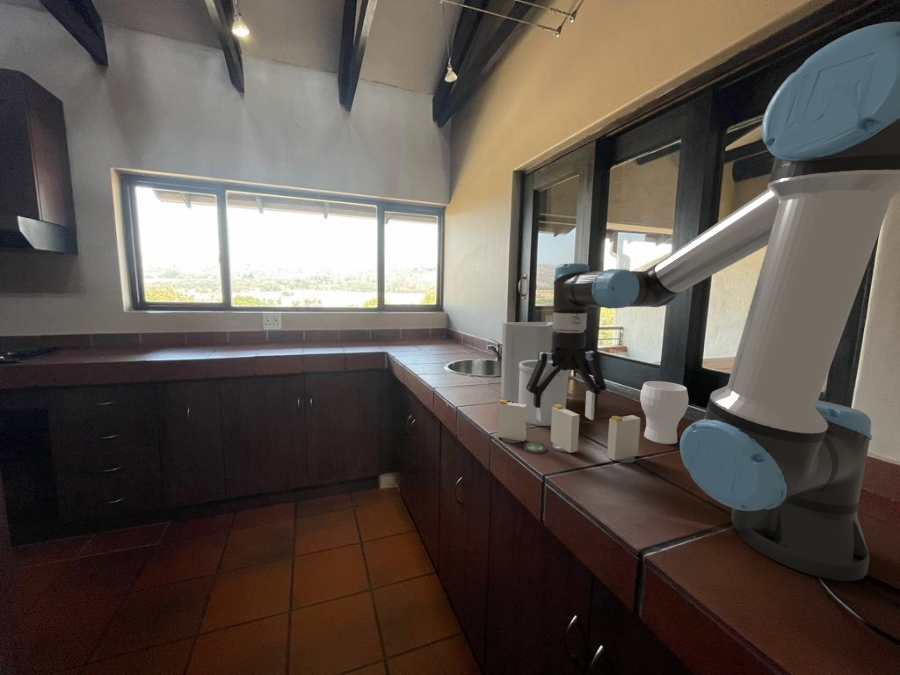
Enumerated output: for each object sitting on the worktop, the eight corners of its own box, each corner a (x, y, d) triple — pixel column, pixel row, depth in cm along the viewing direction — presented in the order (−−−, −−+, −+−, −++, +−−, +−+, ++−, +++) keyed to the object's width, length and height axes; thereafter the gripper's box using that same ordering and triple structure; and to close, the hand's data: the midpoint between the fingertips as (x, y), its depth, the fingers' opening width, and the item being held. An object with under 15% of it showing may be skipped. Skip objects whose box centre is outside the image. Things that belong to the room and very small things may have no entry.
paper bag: (512, 409, 115) (515, 326, 111) (500, 396, 130) (501, 322, 126) (566, 407, 118) (570, 325, 114) (548, 394, 132) (551, 321, 129)
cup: (692, 451, 85) (698, 392, 83) (645, 447, 87) (649, 390, 85) (673, 434, 95) (678, 381, 93) (632, 431, 97) (635, 379, 95)
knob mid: (565, 456, 81) (567, 414, 79) (545, 444, 87) (547, 405, 86) (582, 452, 83) (584, 411, 81) (562, 440, 89) (563, 402, 88)
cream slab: (522, 445, 86) (524, 406, 85) (495, 440, 89) (496, 403, 88) (526, 437, 91) (527, 400, 90) (500, 433, 94) (501, 397, 92)
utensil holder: (565, 414, 111) (568, 360, 109) (568, 432, 97) (571, 371, 95) (519, 410, 115) (520, 358, 113) (515, 426, 101) (517, 368, 99)
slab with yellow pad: (643, 460, 79) (646, 417, 77) (619, 465, 76) (622, 422, 75) (624, 450, 84) (627, 410, 82) (601, 455, 81) (604, 414, 80)
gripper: (524, 333, 76) (522, 427, 79) (626, 332, 79) (620, 422, 82) (514, 329, 83) (512, 415, 86) (607, 328, 86) (602, 411, 89)
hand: (564, 419), depth 84 cm, fingers open, 12 cm apart
